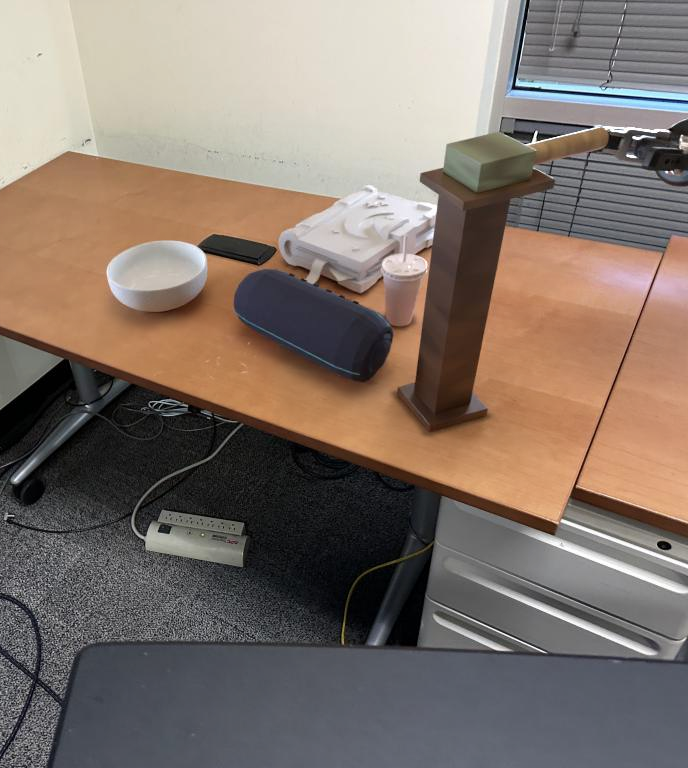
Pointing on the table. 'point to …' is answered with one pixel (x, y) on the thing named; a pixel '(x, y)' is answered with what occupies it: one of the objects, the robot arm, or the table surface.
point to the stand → (459, 296)
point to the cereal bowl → (158, 275)
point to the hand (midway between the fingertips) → (612, 149)
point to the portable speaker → (314, 323)
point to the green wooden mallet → (512, 157)
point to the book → (358, 237)
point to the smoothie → (402, 285)
